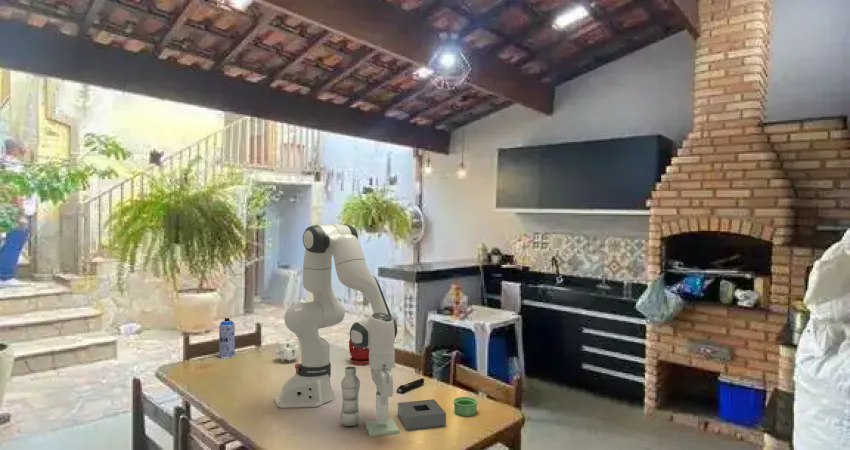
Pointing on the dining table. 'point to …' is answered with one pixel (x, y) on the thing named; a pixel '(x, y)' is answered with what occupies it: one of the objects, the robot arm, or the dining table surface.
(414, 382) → the electric trimmer
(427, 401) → the socket block
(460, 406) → the ramekin
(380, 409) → the steel peg
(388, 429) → the sage pad
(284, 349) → the mechanical part
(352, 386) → the plastic bottle
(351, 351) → the plant pot
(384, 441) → the dining table surface
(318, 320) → the robot arm
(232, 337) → the aerosol can
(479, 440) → the dining table surface
